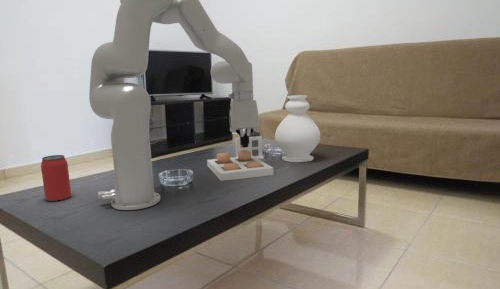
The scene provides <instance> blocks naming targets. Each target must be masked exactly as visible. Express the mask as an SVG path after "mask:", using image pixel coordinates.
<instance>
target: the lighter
mask: <svg viewBox="0 0 500 289" xmlns="http://www.w3.org/2000/svg"><path fill="white" fill-rule="evenodd" d="M258 136H262V135H261V132H260V131H258V130H255V131H253V132H252V133H251V134H250V136H249V137H258ZM262 139H264V136H262ZM263 154H264V151H263V148H262V155H263Z"/></svg>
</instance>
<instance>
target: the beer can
mask: <svg viewBox="0 0 500 289" xmlns="http://www.w3.org/2000/svg"><path fill="white" fill-rule="evenodd" d="M65 157H66V156H65V155H64V154H55V155H54V154H53V155H47V156H43V157H41V159H42V160H41V163H40V168H41V169H40V170H41V177H42V184H43V191H44V200H46V201H48V202H59V201H58V200H60V201H64V200H67V199H68V198H70V197H71V196H72V189H71V188H72V187H71V182H70V180H71V179H70V174H69V166H68V165H69V164H68V161H67V159H66V158H65Z"/></svg>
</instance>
